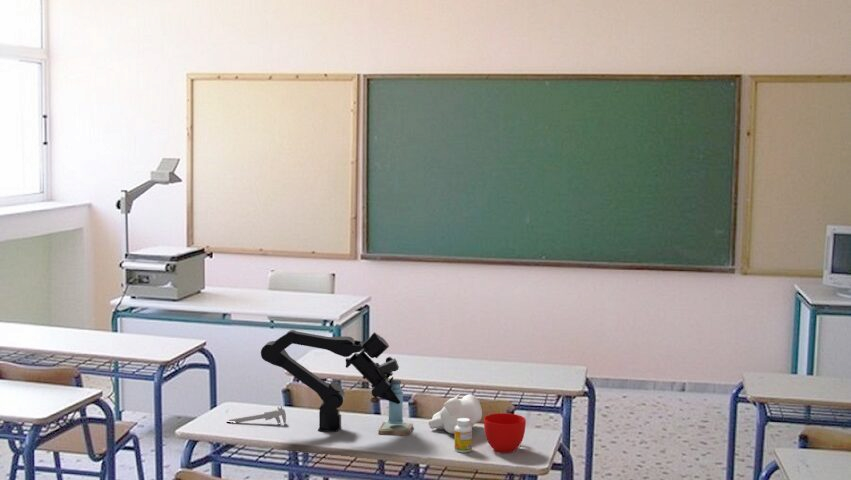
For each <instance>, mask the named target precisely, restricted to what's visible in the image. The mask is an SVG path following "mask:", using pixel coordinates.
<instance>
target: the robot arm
mask: <svg viewBox="0 0 851 480" xmlns="http://www.w3.org/2000/svg"><path fill="white" fill-rule="evenodd" d="M293 344H294V345H298V346H304V347H305V346H306V347H308V348H309V347H310V348H314V349H315V348H317V349H322V350H327V351H329V352H330V353H333V354H335V355H338V356H341V357H344V358H345V368H347V369H348V368H349V367H350V366H351V365H352V366H353V367H354V368H355V370H357V372H358V373H360V375H362V379H363V380H366V381H368V383H370V387H371V388H372V389H371V396H373V398H375V399H377V398H381V399H384V400H387V401H388V402H389V401H391V402H394V403H396V404H399V403H400V400H399V399H398V397H397V396H396V395H395V393H394V392H393V390H392V383H391V380H394V376H393V375H394V373H393V372H396V371H398V370H399V368H400V366H399V364H398V360H397V359H396V358H392V357H391V356H388V357H386V358H385V362H383V363H381V364H379V362H374V360H372V359H374V358H375V359H378V358H379V357H380V356H381V355H382V354H383V353H384V352H385V351H387V349H389V347H390V345H389V343H388V342H387V340H386V339H385V338H383V337H382V336H380V335H379V334H377V333H376V332H375V331H374V332H373V333H372V334H371V335H370V336H369V338H368V339H367V340H366V341H361V340H355V339H354V337H351V336H327V335H326V336H325V335H319V334H315V333H308V332H304V331H303V332H302V331H297V330H295V329H291V330H289V331H288V332H287V333H284V334H283V335H281V336H280V337H279V338H277V339H276V340H272V341H268V342H267V343H266V344H264V345H263V346H262V348H261V349H260V357H261V359H263V361H265V362H266V363H268V364H270V365H272V366H276V367H279V368H282V369H283V370H285V371H286V372H287V373H289V374H290V375H292V376H293V377H295V378H296V379H297V380H298V381H300V382H302V383H303V384H304V385H306V386H307V387H309V388H310V389H311V390H313V391H314V392H315V393H317V395H318V397H320V399H321V400H322V401H321V404H320V406H319V408H318V410H319V411H318V412H319V416H318V418H319V419H318V420H319V425H318V426H319V427H318V429H317V431H320V432H338V431H339V430H340V429H341V427H342V414H341V412H340V411H341V410H340V409H339V408H340V407H342V405H343V404H344V402H345V401H344V400H346V399H345V398H346V394H345V393H346V392H345V391H344V390H343V387H342V386H341V385H339V384H337V383H336V382H335V381H334V380H331V381H330V382H326V381H324V380H323V379H321V378H319V377H318V376H317V375H316V374H315V373H314V372H313V373H312V372H311V371H310V370H309V369H307V368H306V367H305V366H303V365H302V364H300V363H299V361H296V360H295V359H294V358H292V357H291V356H290V355H289V353H288V352H287V351H286V350H285V349H286V348H288V347H290V346H291V345H293ZM350 356H351V357H350Z"/></svg>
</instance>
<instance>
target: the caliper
mask: <svg viewBox="0 0 851 480" xmlns="http://www.w3.org/2000/svg"><path fill="white" fill-rule="evenodd" d="M280 416H281V418H280ZM262 419H265V421H268V420H269V421H270V420H272V419H275V421H276V422H277V424H278V423H281V419H282V421H283V424H284V423H285V424H286V423H287V414H286V410H285V408H283V406H281V407H280V406H277V409H276V410H269V411H265V412H264V413H259V414H254V415H253V414H252V415H246V416H241V417H234V418H229V419H228V421H235V422H239V423H242V422H243V423H244V422H245V423H246V422H248V421H249V422H250V421H255V420H262Z"/></svg>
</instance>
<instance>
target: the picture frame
mask: <svg viewBox="0 0 851 480" xmlns="http://www.w3.org/2000/svg"><path fill="white" fill-rule="evenodd" d="M413 426H414V423H413V422H411V423H408V422H403V423H401V424H390V423H388V421H383V422H382V423H381V426H380V427H379V428H378V431H377V432H378V435H389V436H390V435H393V436H410V433H411V432H412V429H413Z"/></svg>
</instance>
